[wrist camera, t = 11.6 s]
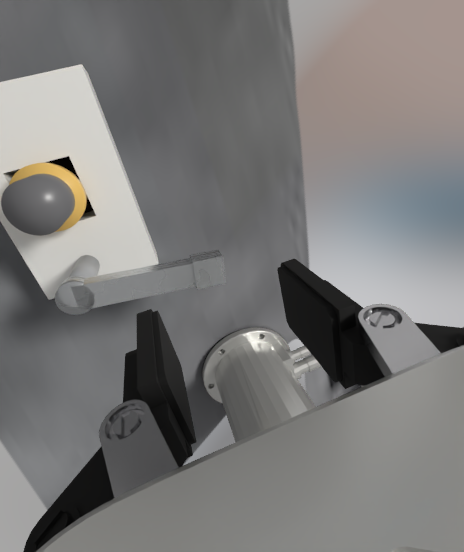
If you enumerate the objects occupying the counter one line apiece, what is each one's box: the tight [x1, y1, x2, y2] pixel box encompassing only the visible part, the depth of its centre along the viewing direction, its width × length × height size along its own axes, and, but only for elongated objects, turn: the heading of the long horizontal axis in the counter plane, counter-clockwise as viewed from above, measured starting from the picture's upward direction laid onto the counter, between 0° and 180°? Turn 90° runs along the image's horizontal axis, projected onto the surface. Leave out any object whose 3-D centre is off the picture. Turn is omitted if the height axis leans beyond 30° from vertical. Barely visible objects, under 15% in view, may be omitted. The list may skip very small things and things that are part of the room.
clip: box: [55, 250, 226, 315], centre depth 24 cm, size 3×12×2 cm, turn 95°
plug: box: [1, 162, 87, 236], centre depth 24 cm, size 5×5×8 cm
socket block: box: [0, 64, 159, 300], centre depth 24 cm, size 10×16×8 cm, turn 14°
